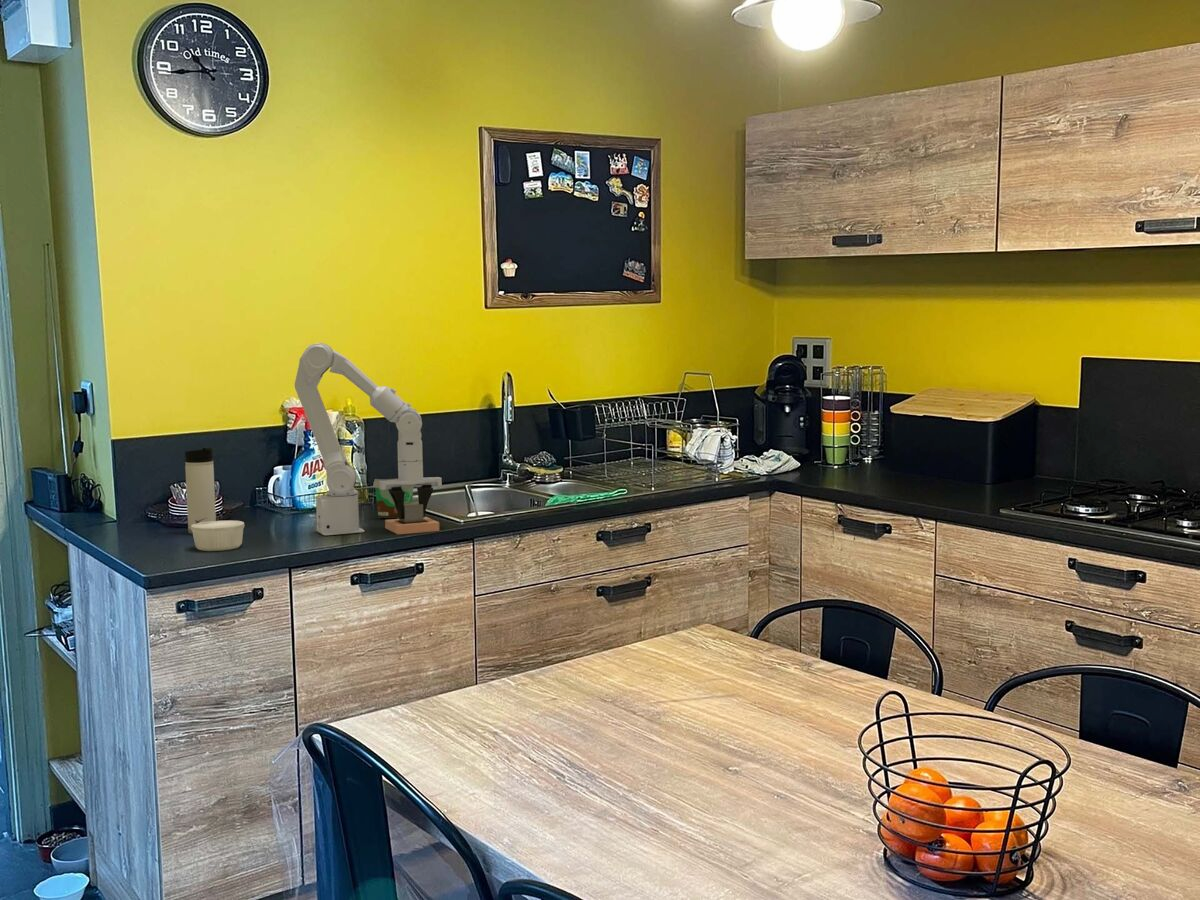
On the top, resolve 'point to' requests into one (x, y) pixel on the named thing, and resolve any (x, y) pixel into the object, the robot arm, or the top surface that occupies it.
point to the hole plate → (412, 526)
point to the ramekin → (218, 535)
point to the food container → (389, 499)
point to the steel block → (412, 513)
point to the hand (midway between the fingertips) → (411, 518)
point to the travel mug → (200, 486)
